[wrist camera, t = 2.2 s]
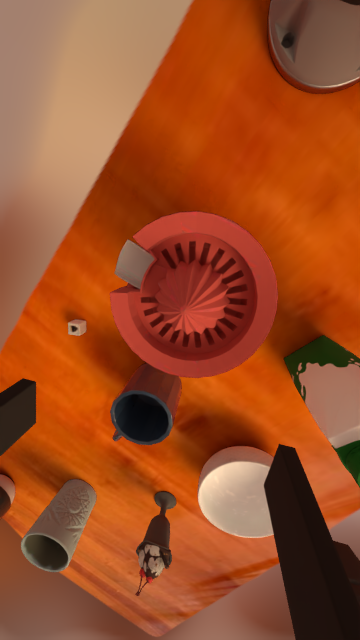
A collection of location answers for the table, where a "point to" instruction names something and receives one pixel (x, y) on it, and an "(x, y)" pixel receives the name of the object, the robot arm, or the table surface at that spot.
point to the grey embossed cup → (59, 527)
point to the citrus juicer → (194, 294)
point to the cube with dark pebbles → (77, 327)
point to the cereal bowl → (236, 491)
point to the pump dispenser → (6, 494)
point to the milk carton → (331, 395)
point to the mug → (146, 406)
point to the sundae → (156, 542)
